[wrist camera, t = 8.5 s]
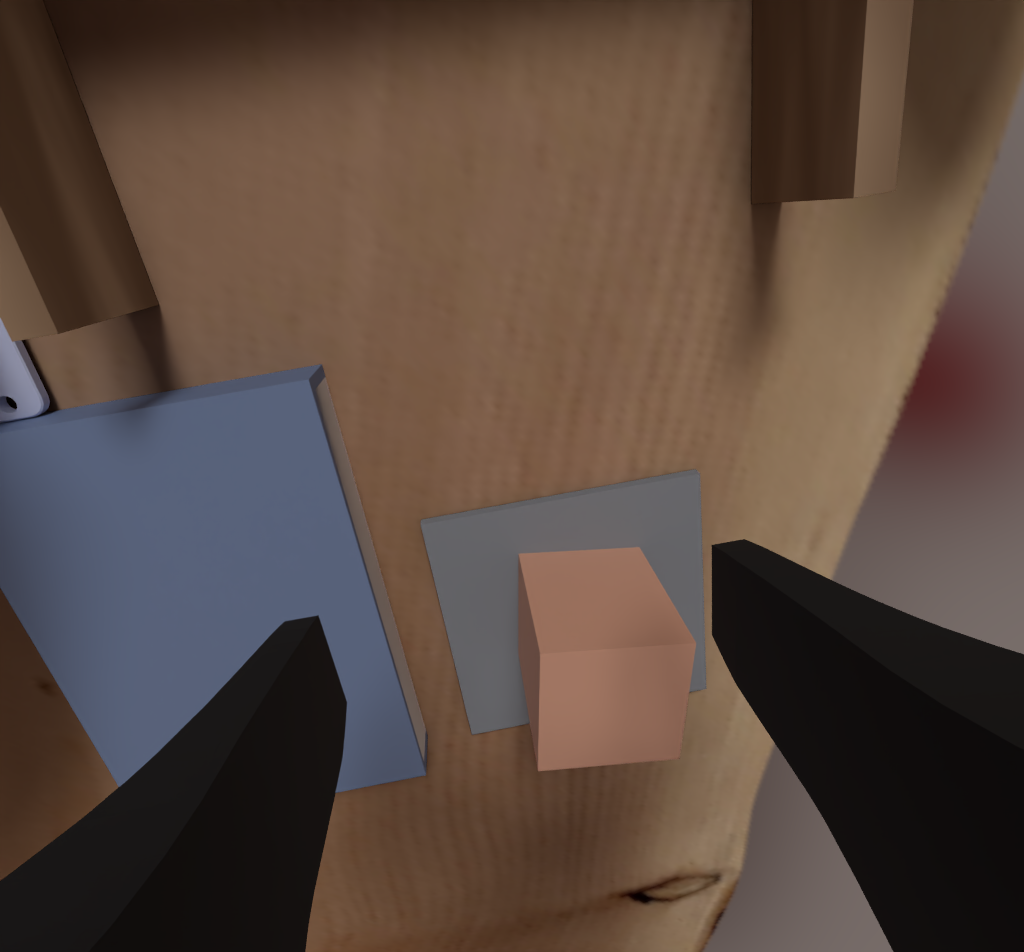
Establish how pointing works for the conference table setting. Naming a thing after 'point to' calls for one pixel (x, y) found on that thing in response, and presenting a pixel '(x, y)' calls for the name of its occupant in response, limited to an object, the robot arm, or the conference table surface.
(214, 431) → the navy book
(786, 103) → the walnut u-shaped open frame
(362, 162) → the conference table surface
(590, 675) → the terracotta block
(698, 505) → the felt mat
